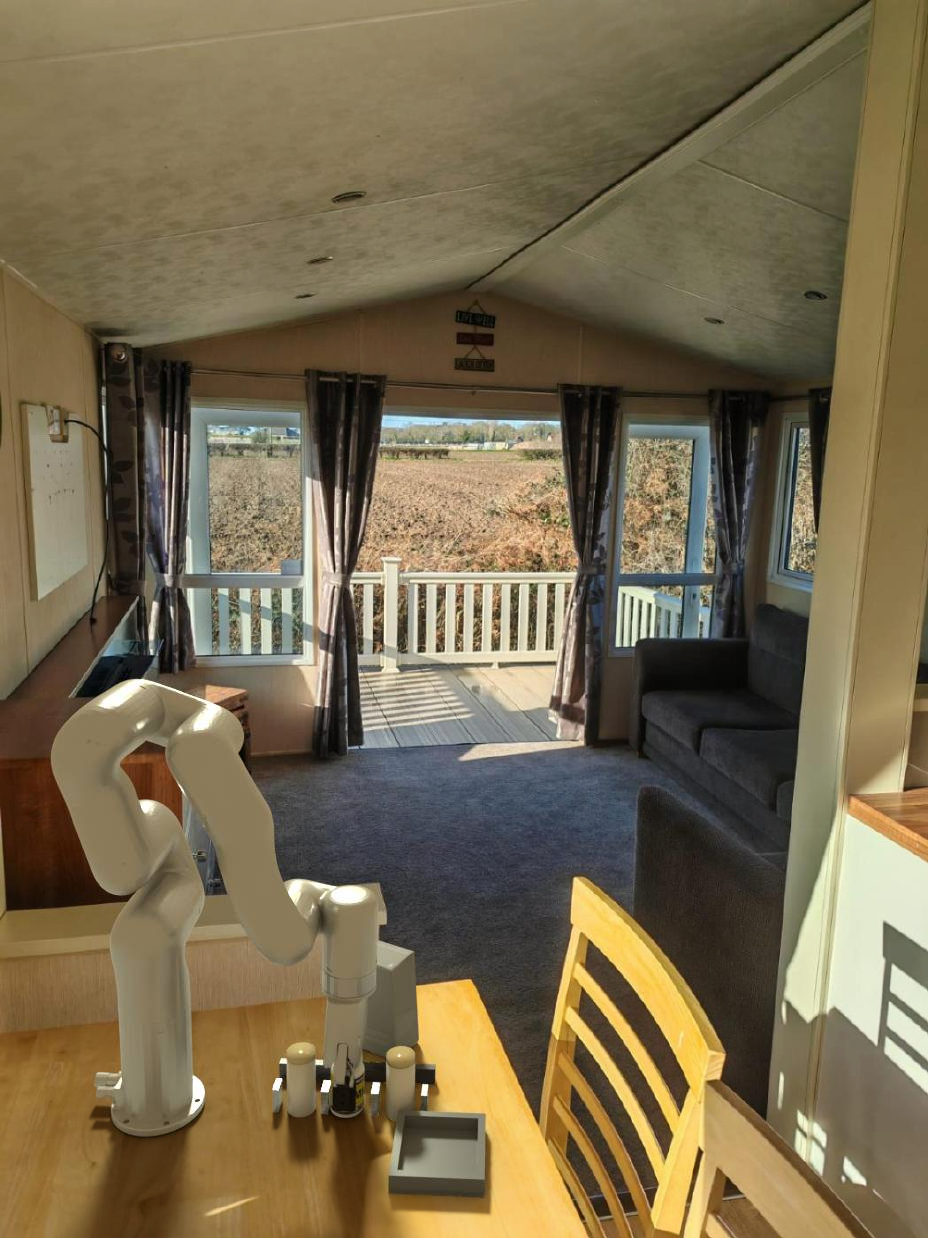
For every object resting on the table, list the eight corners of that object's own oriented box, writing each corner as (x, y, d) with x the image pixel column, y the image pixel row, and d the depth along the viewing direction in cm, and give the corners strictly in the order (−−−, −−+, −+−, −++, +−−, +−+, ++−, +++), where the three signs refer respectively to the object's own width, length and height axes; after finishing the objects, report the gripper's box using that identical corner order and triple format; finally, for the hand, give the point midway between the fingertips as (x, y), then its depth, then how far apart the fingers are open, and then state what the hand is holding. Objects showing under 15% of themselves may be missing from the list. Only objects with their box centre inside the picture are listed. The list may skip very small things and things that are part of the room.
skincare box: (419, 1043, 148) (420, 950, 146) (392, 1067, 143) (393, 970, 140) (377, 1025, 153) (377, 934, 150) (348, 1047, 147) (348, 953, 144)
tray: (388, 1193, 118) (388, 1175, 118) (398, 1126, 130) (398, 1110, 129) (484, 1197, 118) (484, 1179, 117) (485, 1130, 130) (485, 1113, 129)
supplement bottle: (357, 1122, 130) (358, 1066, 129) (325, 1116, 131) (325, 1061, 130) (368, 1099, 135) (369, 1045, 133) (336, 1093, 136) (337, 1040, 134)
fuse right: (384, 1121, 131) (384, 1063, 129) (387, 1101, 135) (388, 1045, 133) (413, 1122, 131) (413, 1064, 129) (415, 1102, 135) (416, 1046, 133)
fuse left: (284, 1117, 131) (283, 1059, 130) (290, 1097, 135) (289, 1042, 134) (312, 1118, 131) (312, 1060, 130) (318, 1099, 135) (317, 1043, 134)
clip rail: (267, 1112, 132) (267, 1089, 132) (281, 1073, 140) (281, 1052, 140) (431, 1118, 132) (432, 1096, 131) (435, 1079, 140) (435, 1058, 139)
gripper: (332, 944, 138) (331, 1057, 141) (310, 1011, 121) (308, 1137, 124) (383, 947, 138) (381, 1060, 141) (368, 1014, 121) (365, 1141, 124)
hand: (347, 1095), depth 133 cm, fingers closed on supplement bottle, 4 cm apart
